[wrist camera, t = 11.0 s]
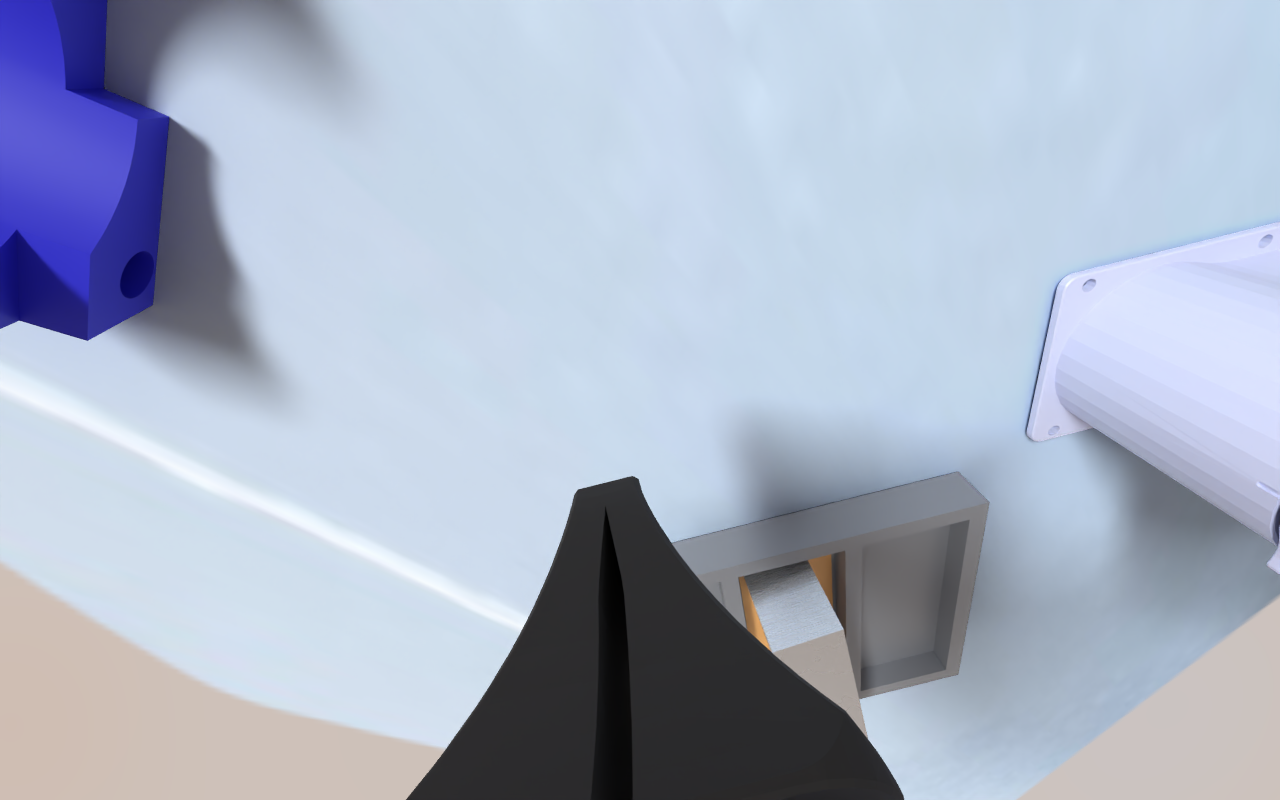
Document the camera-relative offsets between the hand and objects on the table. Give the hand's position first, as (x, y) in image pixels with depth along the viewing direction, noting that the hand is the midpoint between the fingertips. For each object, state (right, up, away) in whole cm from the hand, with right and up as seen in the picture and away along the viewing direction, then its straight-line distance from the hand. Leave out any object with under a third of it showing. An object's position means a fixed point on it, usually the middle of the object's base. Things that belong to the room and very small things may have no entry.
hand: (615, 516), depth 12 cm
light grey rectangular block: (+8, -9, +16) cm, 20 cm away
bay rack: (+8, -9, +17) cm, 21 cm away
